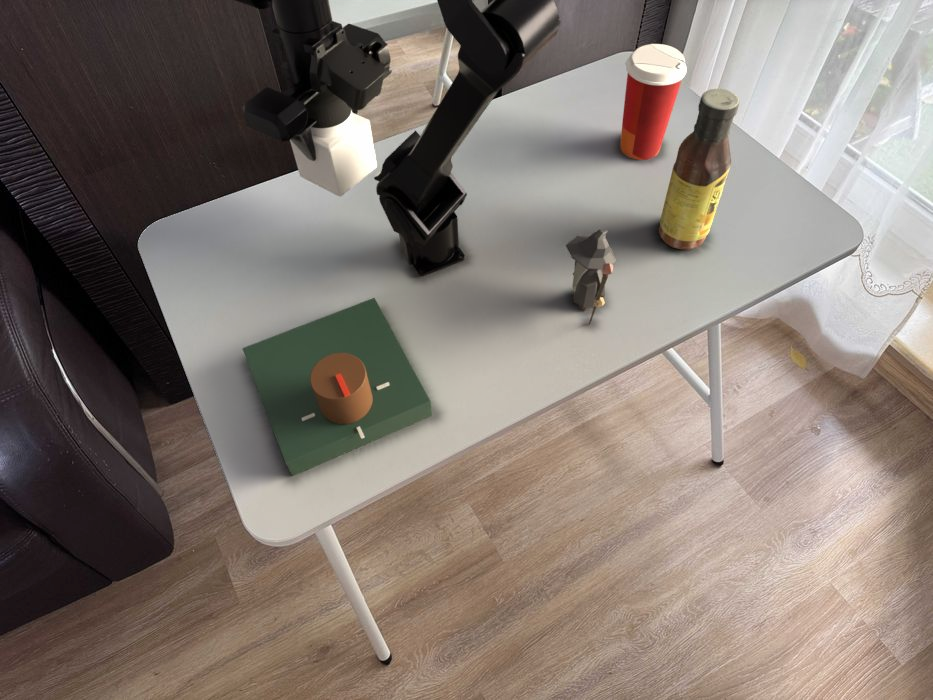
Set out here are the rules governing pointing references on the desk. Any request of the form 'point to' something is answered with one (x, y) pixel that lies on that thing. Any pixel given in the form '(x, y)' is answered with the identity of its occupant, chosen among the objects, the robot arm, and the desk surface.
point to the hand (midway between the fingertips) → (331, 141)
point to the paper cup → (650, 98)
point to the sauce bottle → (699, 173)
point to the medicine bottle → (336, 145)
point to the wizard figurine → (590, 269)
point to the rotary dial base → (294, 403)
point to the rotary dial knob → (341, 388)
